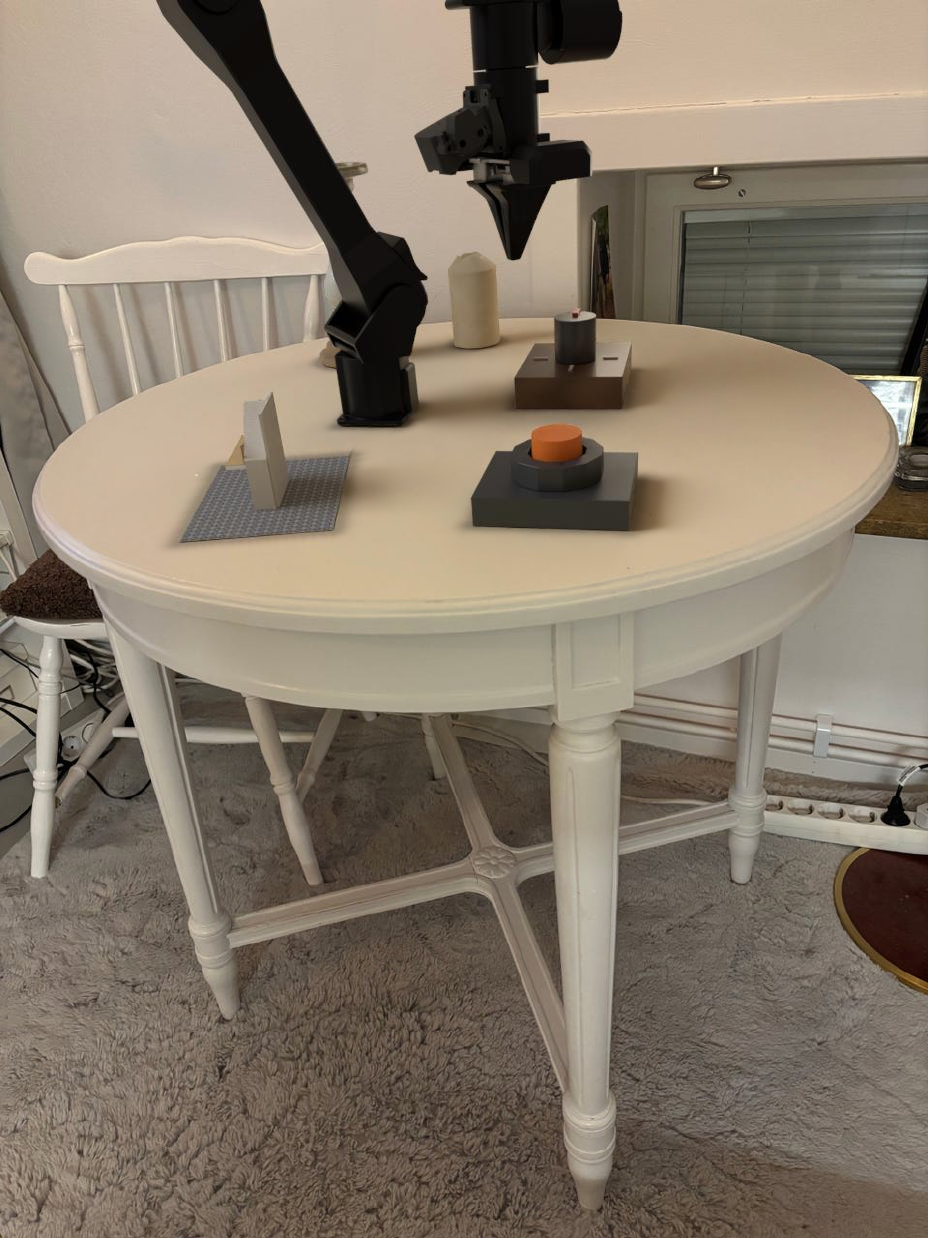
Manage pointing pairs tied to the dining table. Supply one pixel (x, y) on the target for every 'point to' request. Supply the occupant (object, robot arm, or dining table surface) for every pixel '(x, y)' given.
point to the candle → (474, 301)
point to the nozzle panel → (574, 379)
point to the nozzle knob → (575, 337)
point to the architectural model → (268, 486)
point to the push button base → (557, 490)
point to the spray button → (556, 443)
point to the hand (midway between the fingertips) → (514, 259)
